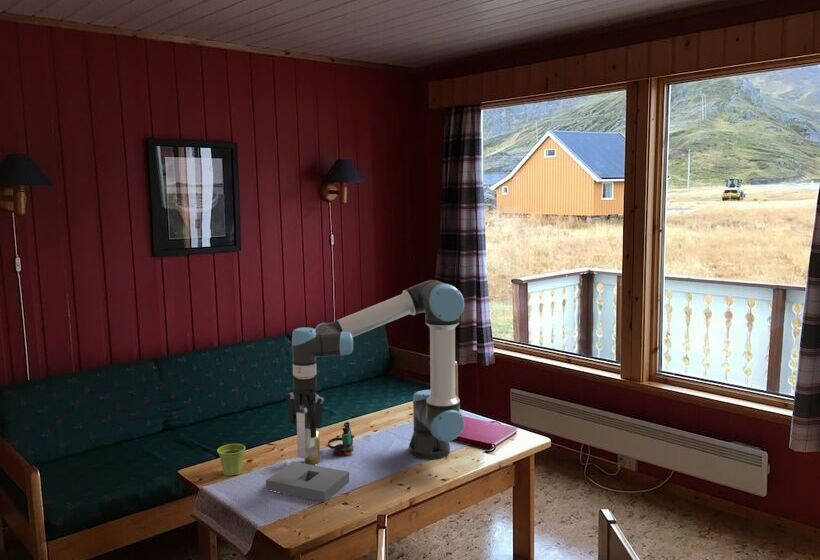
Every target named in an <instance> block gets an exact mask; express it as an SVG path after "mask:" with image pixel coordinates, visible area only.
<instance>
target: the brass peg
mask: <svg viewBox="0 0 820 560" xmlns="http://www.w3.org/2000/svg"><path fill="white" fill-rule="evenodd" d="M320 441H321V440H320V428H318V427H317V428H316V437H315V453H313V454H312V455H310V456H309V457H307V458H306V459H305V458H303V459H304V464H309V465H314V466H316V465H315V464H317V465H319V464H320V463H321V452H320V451H321V446H320V444H321V443H320ZM319 462H320V463H319ZM318 463H319V464H318Z"/></svg>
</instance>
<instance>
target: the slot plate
mask: <svg viewBox="0 0 820 560" xmlns="http://www.w3.org/2000/svg"><path fill="white" fill-rule="evenodd" d="M307 480H308V481H307ZM349 483H350V471H347V470H341V469H336V468H331V467H330V468H329V467H324V466H318V465H309V464H305V463H304V462H297V461H292V462H290V463H289V464H288V465H286V466H285V467H283V468H282V469H280V470H279V471H277V472H276V473H274V474H273V475H271V476H269V477H268V478H267V479H266V480H265V490H266V489H267V490H272V491H276V492H275V493H277V492H280V493H279V494H282V493H285V494H284V495H286V494H289V495H288V496H291V495H294V496H293V497H296V496H297V498H303V499H306V500H312V501H315V502H316V501H317V502H319V503H321V502H322V503H326V502H327V501H329V499H331V498H332V497H333V496H334V495H336V494H337V493H338V492H339V491H340V490H342V489H343V488H344V487H346V485H347V484H349ZM267 490H266V491H267ZM272 491H271V492H272Z"/></svg>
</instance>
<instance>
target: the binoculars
mask: <svg viewBox="0 0 820 560" xmlns="http://www.w3.org/2000/svg"><path fill="white" fill-rule="evenodd" d="M343 426H344V427H343V428H341V429H342V431H343V432H342V434H341V437H334V438H331V439H329V440H328V441H327V447H328V448H329V449H331V450H333V451H332V454H333V456H339V455H342V454H344V455H347V456H353V451H354V450H355V448H354V445H353V444H354V442H353V441H354V439H353V438H355V436H354V434H352V429H351V427H350V422H348V421H347V422H344V423H343ZM335 441H342V443H338V444H336V445H331V443H332V442H335Z"/></svg>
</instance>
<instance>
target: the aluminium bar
mask: <svg viewBox="0 0 820 560" xmlns="http://www.w3.org/2000/svg"><path fill="white" fill-rule="evenodd" d="M309 427H310V426H309V419H308V412H307V408H306V407H304V409H302V410H300V411H298V412H297V435H296V441H297V442H296V443H297V446H296V447H297V451H296V452H297V458H300V459H304V458H305V459H306V458H307V457H309V456H310V455H312V454H313V453H315V437H314V446H313V447H311V448H308V428H309Z"/></svg>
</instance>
